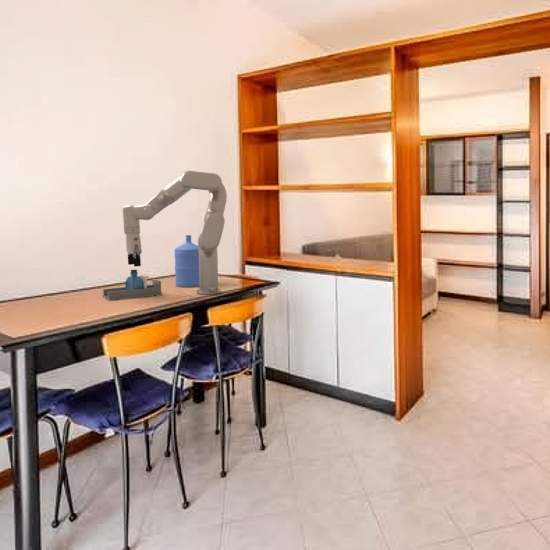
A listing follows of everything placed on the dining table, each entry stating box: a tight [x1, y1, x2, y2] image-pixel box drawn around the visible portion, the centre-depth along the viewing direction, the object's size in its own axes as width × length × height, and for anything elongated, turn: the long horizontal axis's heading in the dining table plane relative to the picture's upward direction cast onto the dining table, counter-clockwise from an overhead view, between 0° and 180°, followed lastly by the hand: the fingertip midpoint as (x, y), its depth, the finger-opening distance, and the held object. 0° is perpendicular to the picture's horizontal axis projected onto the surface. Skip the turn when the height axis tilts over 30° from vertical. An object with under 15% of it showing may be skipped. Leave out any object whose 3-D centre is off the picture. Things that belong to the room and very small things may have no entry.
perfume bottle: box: [124, 269, 144, 290], centre depth 258 cm, size 6×6×12 cm
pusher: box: [139, 274, 150, 288], centre depth 261 cm, size 7×2×8 cm, turn 32°
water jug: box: [174, 234, 200, 288], centre depth 289 cm, size 16×16×28 cm
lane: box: [102, 278, 163, 301], centre depth 258 cm, size 12×26×7 cm, turn 122°
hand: (134, 265), depth 257 cm, fingers open, 9 cm apart
